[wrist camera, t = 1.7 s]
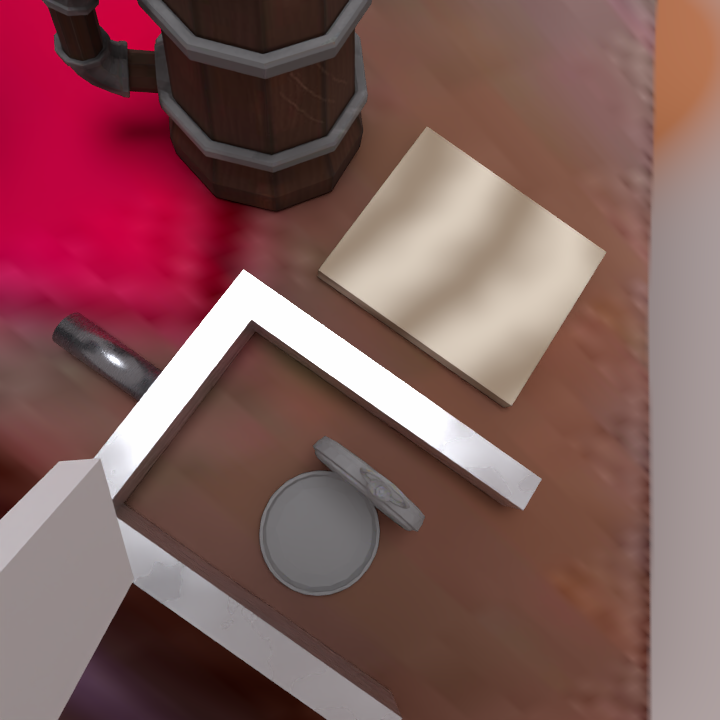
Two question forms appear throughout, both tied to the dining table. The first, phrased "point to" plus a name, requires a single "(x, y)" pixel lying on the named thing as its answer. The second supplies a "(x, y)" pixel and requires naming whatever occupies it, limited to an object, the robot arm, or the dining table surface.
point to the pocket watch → (330, 522)
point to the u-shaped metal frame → (171, 411)
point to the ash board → (463, 266)
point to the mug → (239, 87)
